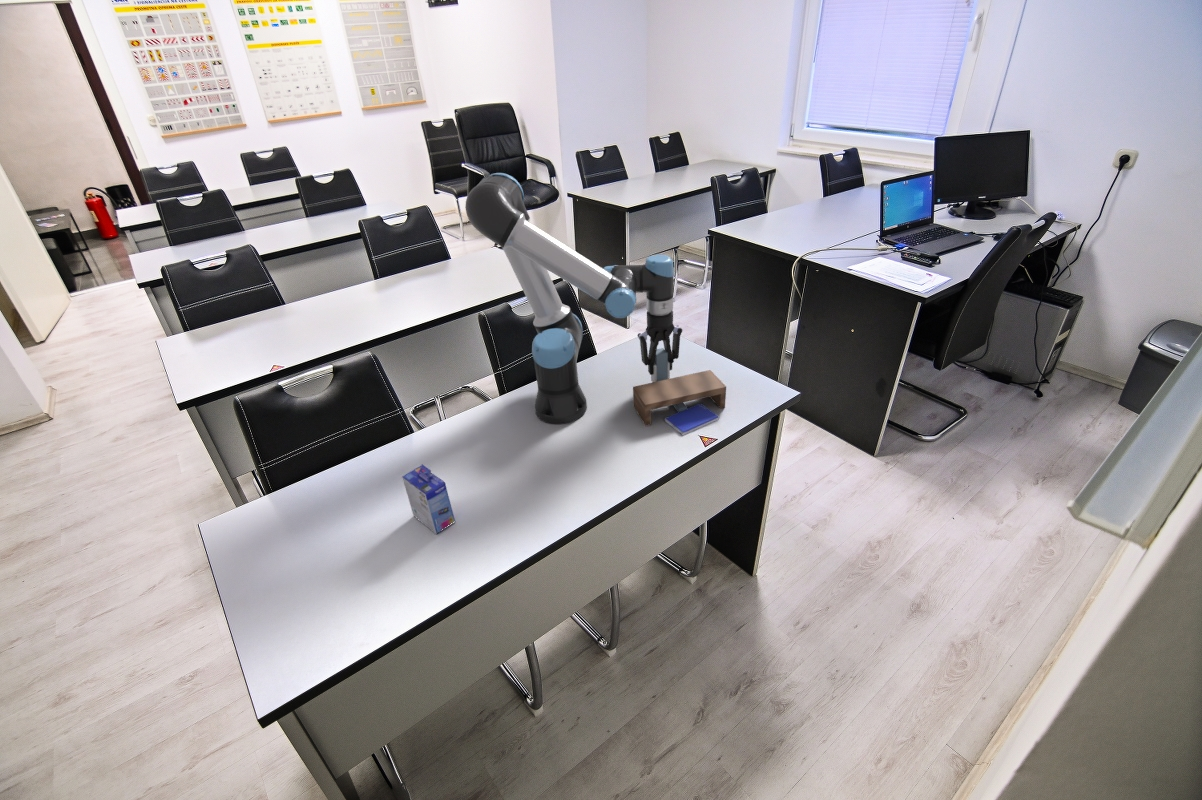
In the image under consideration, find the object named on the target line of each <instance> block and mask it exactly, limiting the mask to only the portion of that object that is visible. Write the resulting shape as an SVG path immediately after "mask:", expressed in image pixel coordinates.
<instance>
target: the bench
mask: <svg viewBox="0 0 1202 800" xmlns="http://www.w3.org/2000/svg"><path fill="white" fill-rule="evenodd" d="M632 395H633V396H632V399H633V408H634V410H635V412H636V413H637V415H638V417H640V419H641V421H642V422H643V424H644V426H645V427H648V426H651V425H652V418H651V417H652V411H651V410H657V409H661V408H666V407H669V406H673V405H674V404H679V403H687V402H692V401H696V400H700V399H703V398H704V399H706V398H710V399H711V400H712V401H713V403H715V404H716V405H717V406H718V409H724V408H726V399H727V396H726V395H727V385H725V384H724V383H723V382H722V380H720V378H719V377H718V376H717V375H716V374H715V373H714V372H713V371H712V370H711V369H709V370H704V371H699V372H694V373H690V374H686V375H681V376H676V377H672V378H670V379H666V380H662V381H657V382H649V383H644V384H640V385H634V386H632Z"/></svg>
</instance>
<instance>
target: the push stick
mask: <svg viewBox="0 0 1202 800" xmlns="http://www.w3.org/2000/svg"><path fill="white" fill-rule="evenodd" d="M654 363H655V364H656V366H657V381H662V380H666V379H668V353H667V352H666V351H665V349H664V347H661V348H657V351H656V356H655V362H654ZM672 406H673V407H674V408H675V410H676V411H677V413H679V412H681V411H683V410H686V409H688V406H687V405H686V403H685V402H683V403H679V404H674V405H672Z"/></svg>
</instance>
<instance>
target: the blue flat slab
mask: <svg viewBox="0 0 1202 800" xmlns="http://www.w3.org/2000/svg"><path fill="white" fill-rule="evenodd" d="M719 419H720V417H719V415H718V414H716V413H715V412H714V411H712V410H711V409H709V408H708V407H707V406H705V405H704V404H702V403H698V404H695V405H693V406H691V407H689V408H688V407H687V409H686V410H683V411H681V412H676V413H674V414H671V415H670V416H667V417H665V418H664V421H665V422H666V423H667V424H669V425H670V427H672V428H673V429H674V430H676V431H677V432H678V433H680V434H681V435H682V436H683V435H686V434H688V433H690V432H693V431H695V430H698V429H700V428H702V427H704V426H707V425H710V424H712V423H713V422H715V421H717V420H719Z"/></svg>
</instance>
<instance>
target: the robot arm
mask: <svg viewBox="0 0 1202 800" xmlns="http://www.w3.org/2000/svg"><path fill="white" fill-rule="evenodd" d="M524 201H525V195H524V190H523V187H522V185H521V184H520V182H518V180H517V179H516V178H515V177H514V176H512V175H509V174H507V173H504V172H496V173H491V174H490V175H486V176H485V177H483V178H482V179H481V180H480V181H479V183H478V184H477V185H475V186H474V187H473V188H472V189H471V190H470V191H469V193H468V194H467V197H466V200H465V212H466V213H465V214H466V217H467V218H468V221H469V222H470V224H471V225H472V226H473V228H475V230H476V231H478V232H479V233H480V234H481V235H483V236H484V237H486V238H487V239H489V240H490V241H492V242H493V243H494V244H496V245H498V246H500V247H501V248H502V250H503V252H504V254H505V256H506V258H507V260H508V262H509V264H510V266H511V268H512V271H513V273H514V275H515V276H516V278H517V279H516V280H518V283H519V285H520V287H521V289H522V291H523V293H524V295H525V297H526V300H527V301H528V304H529V306H530V308H531V309H532V312H533V314H534V316H535V317H534V319H533V322H532V324H533V326H534V328H535V330H536V332H537V334H536V335H535V336H534V338H533V341H532V345H531V354H532V358H533V363H534V371H535V376H536V377H535V378H536V383H537V393H536V398H535V400H534V401H535V402H534V411H535V415H536V417H537V418H538V419H539V420H540V421H543V422H545V423H548V424H552V425H553V424H554V425H561V424H568V423H571V422H574V421H576V420H578V419H580V418H581V417H583V416H584V415H585V414H586V412H587V409H588V404H587V403H588V402H587V398H586V396H585V393H584V392H583V389H582V388H581V386H580V384H579V374H578V366H577V365H578V364H577V360H578V355H579V352H580V348H581V344H582V340H583V336H584V335H583V334H584V333H583V332H584V329H583V325H582V321H581V320H580V319H579V317H578V316H577V315H576V314H574V313H573V312H572V310H571V307H570V306H569V305H566V304H564V303H562V300H561V298H560V296H559V293H558V292H557V289H556V287H555V284H554V282H553V280H552V278H551V275H550V273H549V272H551V273H552V274H554V275H556V276H557V277H559V278H560V279H562V280H564V281H565V282H566V283H569V284H570V285H572V286H574V287H575V288H577V289H578V290H580V291H582V292H584V293H585V294H587V295H589V296H590V297H592V298H593V299H594V300H597V301H598V302H600V303H602V304H603V305H604V306H605V309H606V311H607V313H608V314H609V315H610V316H612V317H613V318H616V319H625V318H627V317H629V316H630V315H632V313H633V312H634V310H635V307H636V303H637V294H640V293H642V294H643V293H646V296H645V297H646V328H645V331H644V332H642V333H639V332H638V333H637V337H638V339H639V345H640V354H641V357H640V358H641V362H642V363H643V364H644V366H647V368H648V369H647V372H648V373H649V375H650V381H651V383H653V382H657V366H656V364H655V363H654V362H655V356H656V351H657V349H658V346H659V343H660V342H662V343H663V349H664V350H665V351H666V352H667V353H668V379H671V378H670V377H671V376H670V375H671V371H672V370H673V363H674V362H675V359H676V360H677V359H679V357H680V355H679V354H680V343H681V342H680V341H681V335H682V333H683V329H682V327H681V326H680V325H677V324H676V325H675V324H674V311H673V310H674V278H675V277H674V272H675V271H674V261H673V259H672V257H670V256H669V255H665V254H655V255H650V256H648V257H647V258H646V259H645V263H643V264H627V265H626V264H625V265H618V264H614V265H607V266H604V267H602V266H599V265H598V264H597V263H595V262H593V261H592V260H590V259H588V258H587V257H586V256H584V255H582V254H580V253H579V252H577V251H576V250H574V249H573V248H572V247H569V246H568V245H566V244H565V243H563V242H561V241H560V240H558V239H557V238H555V237H554V236H552V235H550V234H549V233H548V232H546V231H544V230H543V229H541V228H539V227H538V226H536V225H535V224H533V223H531V222H530V221H531V217H530V215H529V213H528V210H527V208H526V206H525V203H524ZM671 334H672V343H671V338H670V336H671ZM648 336H649V338H650V339H649V342H650V343H649V350H648V343H647V340H648Z"/></svg>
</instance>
